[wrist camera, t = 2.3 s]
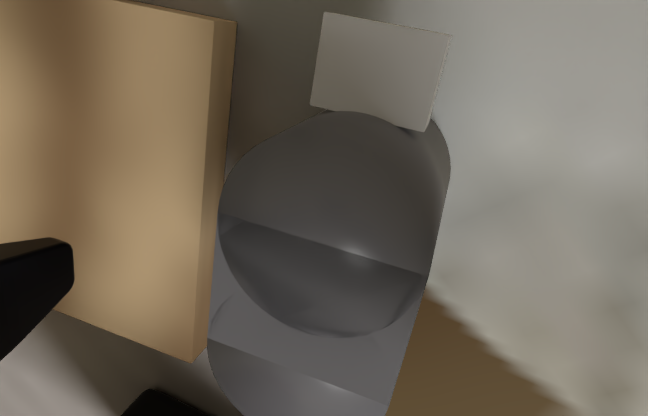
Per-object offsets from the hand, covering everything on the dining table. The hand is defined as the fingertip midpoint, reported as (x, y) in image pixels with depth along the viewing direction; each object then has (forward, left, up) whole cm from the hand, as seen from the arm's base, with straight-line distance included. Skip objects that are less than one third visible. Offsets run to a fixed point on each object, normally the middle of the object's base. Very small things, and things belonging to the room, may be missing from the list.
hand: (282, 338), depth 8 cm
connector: (0, 0, -6) cm, 6 cm away
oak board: (-10, -1, -6) cm, 12 cm away
